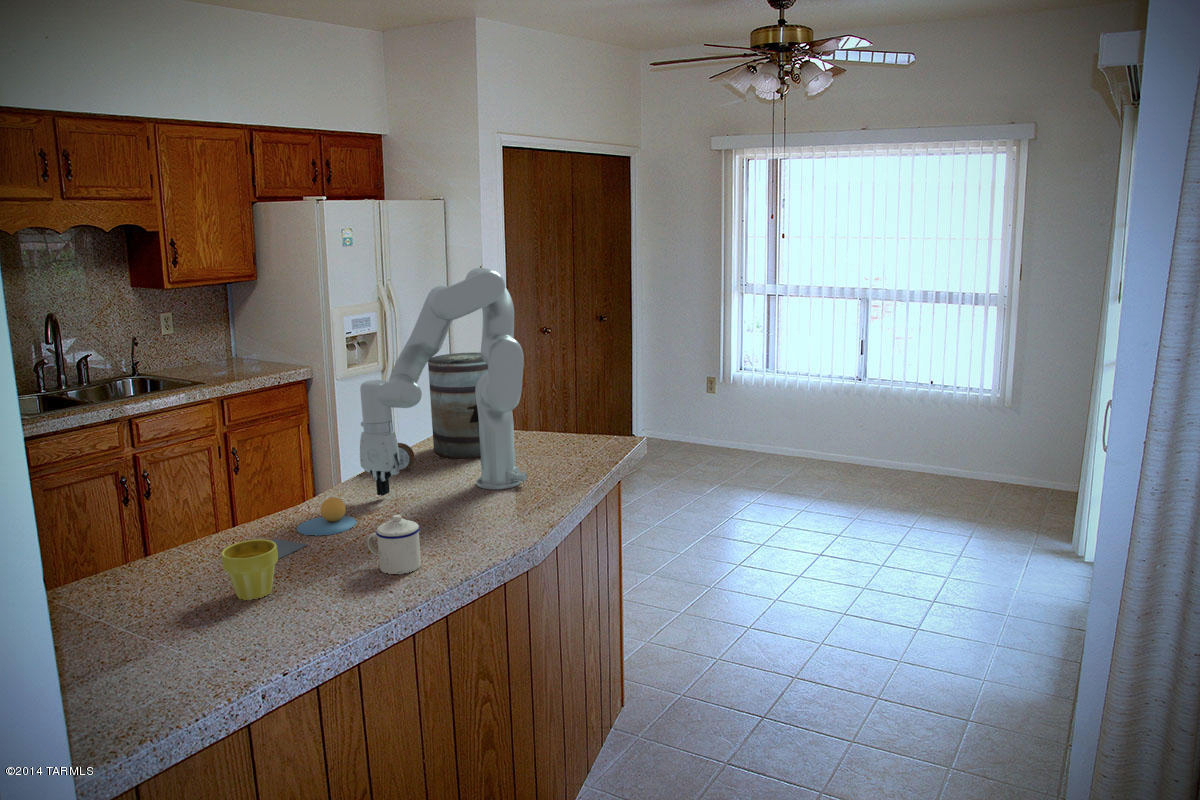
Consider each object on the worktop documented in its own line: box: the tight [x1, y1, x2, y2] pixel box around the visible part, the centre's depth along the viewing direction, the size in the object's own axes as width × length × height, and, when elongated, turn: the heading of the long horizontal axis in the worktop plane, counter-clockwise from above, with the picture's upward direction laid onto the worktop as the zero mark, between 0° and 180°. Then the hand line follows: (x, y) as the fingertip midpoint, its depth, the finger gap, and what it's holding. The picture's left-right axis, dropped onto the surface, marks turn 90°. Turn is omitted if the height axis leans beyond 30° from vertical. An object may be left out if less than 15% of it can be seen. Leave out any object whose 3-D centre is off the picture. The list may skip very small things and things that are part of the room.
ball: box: [319, 497, 347, 522], centre depth 219 cm, size 6×6×6 cm
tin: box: [391, 442, 415, 472], centre depth 262 cm, size 15×3×8 cm, turn 84°
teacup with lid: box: [366, 514, 422, 575], centre depth 189 cm, size 12×9×12 cm
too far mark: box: [271, 538, 309, 560], centre depth 202 cm, size 10×10×1 cm
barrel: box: [427, 352, 488, 460], centre depth 281 cm, size 22×22×30 cm
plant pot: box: [221, 538, 279, 601], centre depth 177 cm, size 10×10×10 cm
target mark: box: [296, 515, 357, 537], centre depth 217 cm, size 14×14×1 cm
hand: (383, 493), depth 236 cm, fingers closed
